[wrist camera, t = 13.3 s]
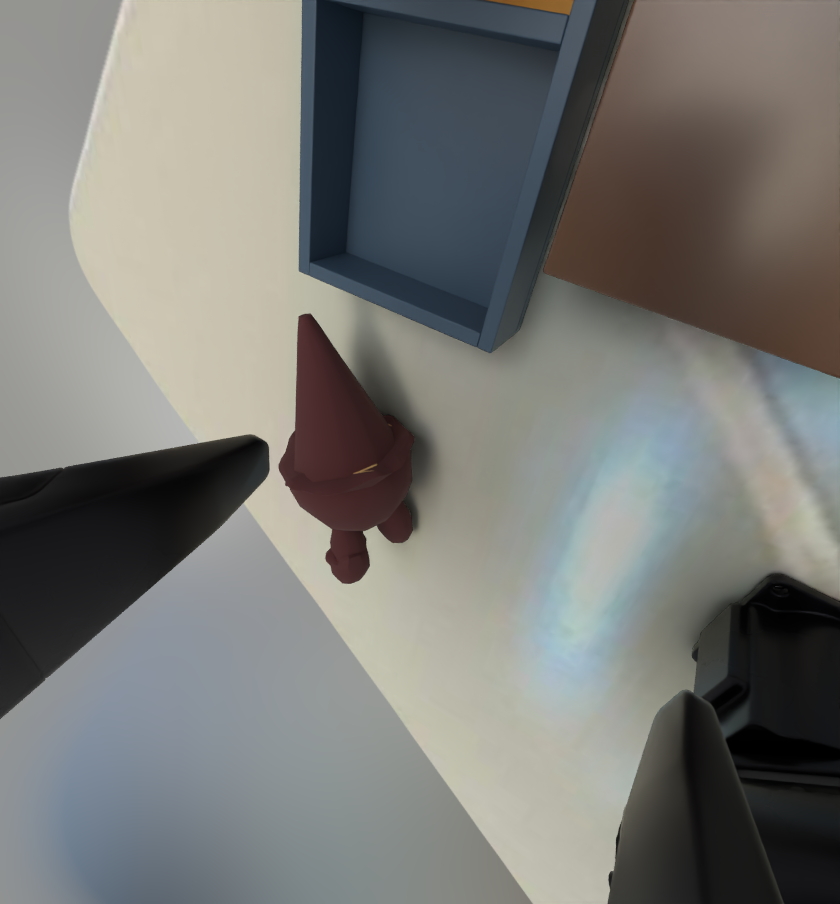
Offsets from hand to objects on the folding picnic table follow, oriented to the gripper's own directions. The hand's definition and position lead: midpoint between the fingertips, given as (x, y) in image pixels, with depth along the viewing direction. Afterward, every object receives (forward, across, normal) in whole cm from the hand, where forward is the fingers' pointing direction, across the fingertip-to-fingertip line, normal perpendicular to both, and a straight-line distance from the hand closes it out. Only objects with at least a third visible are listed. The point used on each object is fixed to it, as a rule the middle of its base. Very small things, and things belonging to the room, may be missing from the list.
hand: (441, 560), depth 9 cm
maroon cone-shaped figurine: (+13, +9, +9) cm, 18 cm away
